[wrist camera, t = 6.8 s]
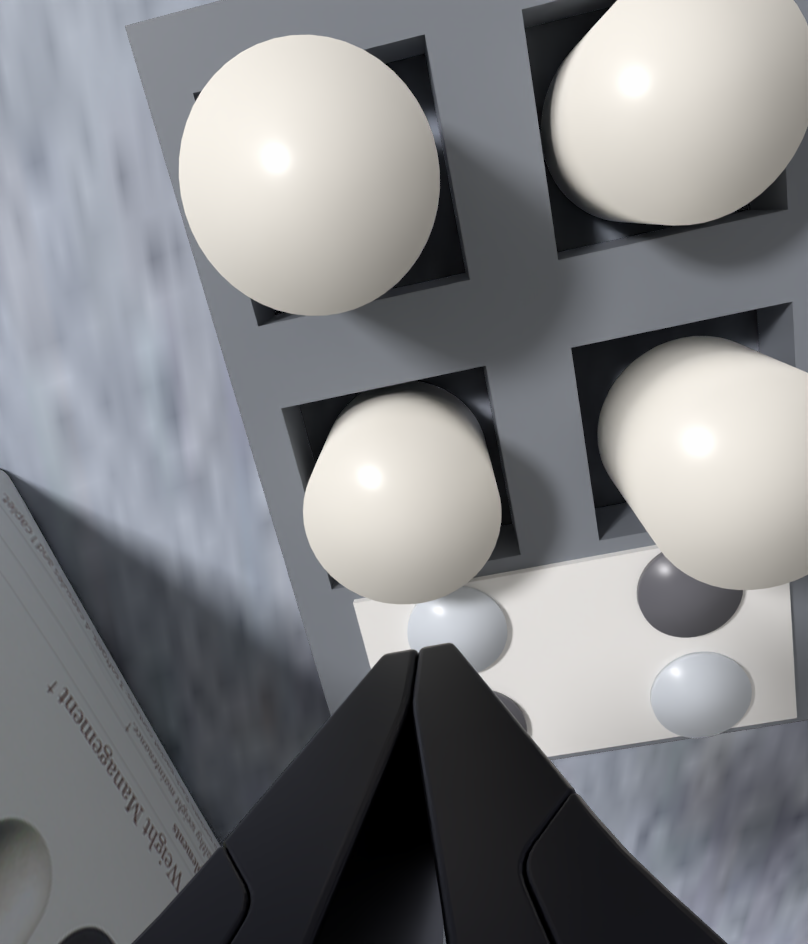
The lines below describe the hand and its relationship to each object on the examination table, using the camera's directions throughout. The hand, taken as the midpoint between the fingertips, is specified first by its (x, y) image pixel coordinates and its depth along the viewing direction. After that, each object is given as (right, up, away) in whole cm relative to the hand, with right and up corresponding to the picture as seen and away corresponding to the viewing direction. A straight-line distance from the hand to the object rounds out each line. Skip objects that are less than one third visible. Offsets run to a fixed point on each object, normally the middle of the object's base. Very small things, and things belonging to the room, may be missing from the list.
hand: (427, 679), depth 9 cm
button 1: (-2, +9, +7) cm, 12 cm away
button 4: (+7, +3, +9) cm, 12 cm away
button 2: (0, +3, +11) cm, 12 cm away
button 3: (+5, +11, +9) cm, 15 cm away
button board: (+3, +4, +11) cm, 12 cm away
